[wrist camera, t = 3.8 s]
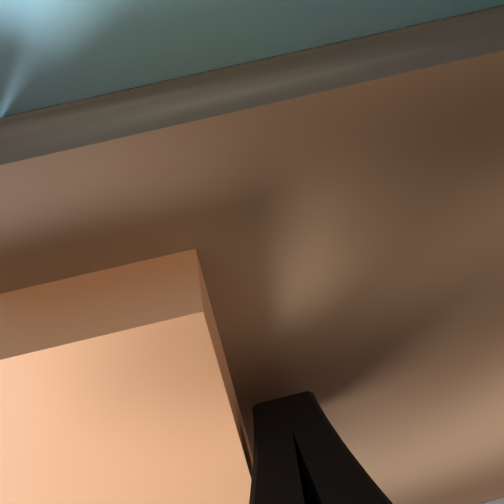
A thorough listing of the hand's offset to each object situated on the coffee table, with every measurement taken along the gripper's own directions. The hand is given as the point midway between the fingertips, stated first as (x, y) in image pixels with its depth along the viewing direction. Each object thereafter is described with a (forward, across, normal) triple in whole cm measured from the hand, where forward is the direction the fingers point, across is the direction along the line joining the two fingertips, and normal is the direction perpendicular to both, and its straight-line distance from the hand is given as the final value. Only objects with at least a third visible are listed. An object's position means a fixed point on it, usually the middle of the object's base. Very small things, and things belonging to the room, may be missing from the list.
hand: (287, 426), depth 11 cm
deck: (+5, -3, 0) cm, 6 cm away
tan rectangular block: (+1, +4, 0) cm, 4 cm away
